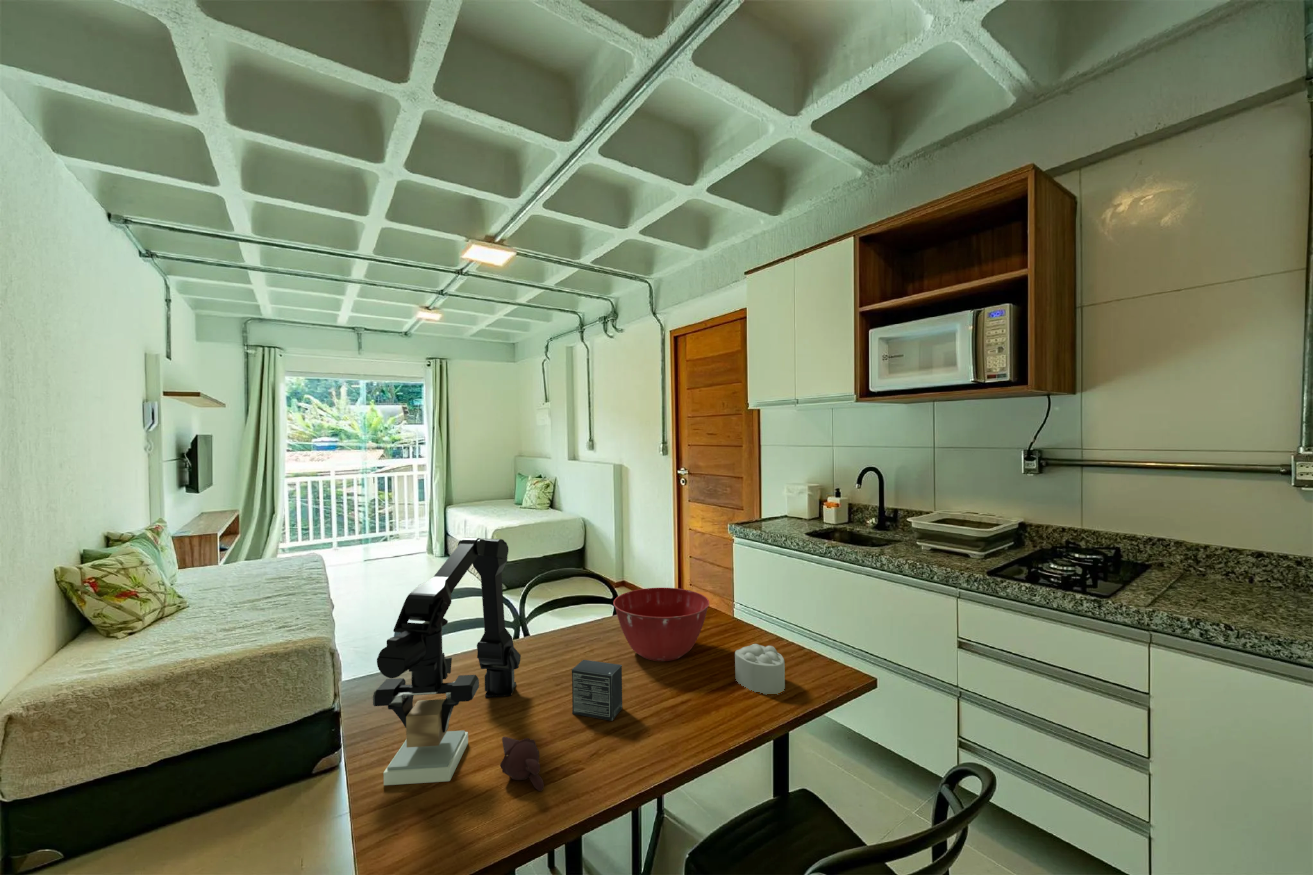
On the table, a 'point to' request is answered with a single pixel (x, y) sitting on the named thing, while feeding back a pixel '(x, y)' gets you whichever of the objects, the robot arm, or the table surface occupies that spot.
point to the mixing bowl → (661, 621)
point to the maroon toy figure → (522, 760)
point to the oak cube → (425, 724)
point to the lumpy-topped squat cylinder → (760, 669)
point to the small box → (597, 689)
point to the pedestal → (427, 761)
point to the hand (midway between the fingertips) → (428, 732)
